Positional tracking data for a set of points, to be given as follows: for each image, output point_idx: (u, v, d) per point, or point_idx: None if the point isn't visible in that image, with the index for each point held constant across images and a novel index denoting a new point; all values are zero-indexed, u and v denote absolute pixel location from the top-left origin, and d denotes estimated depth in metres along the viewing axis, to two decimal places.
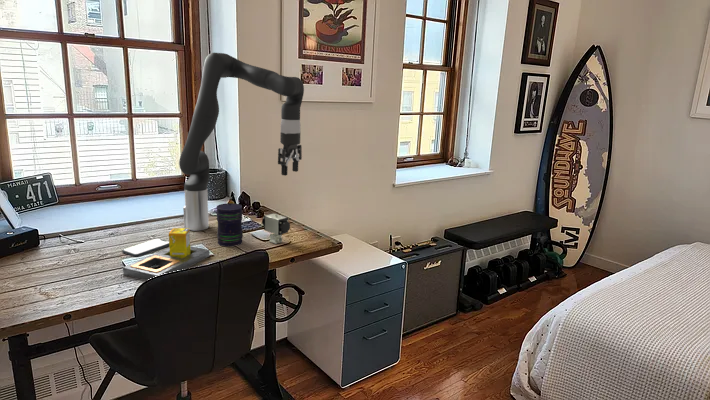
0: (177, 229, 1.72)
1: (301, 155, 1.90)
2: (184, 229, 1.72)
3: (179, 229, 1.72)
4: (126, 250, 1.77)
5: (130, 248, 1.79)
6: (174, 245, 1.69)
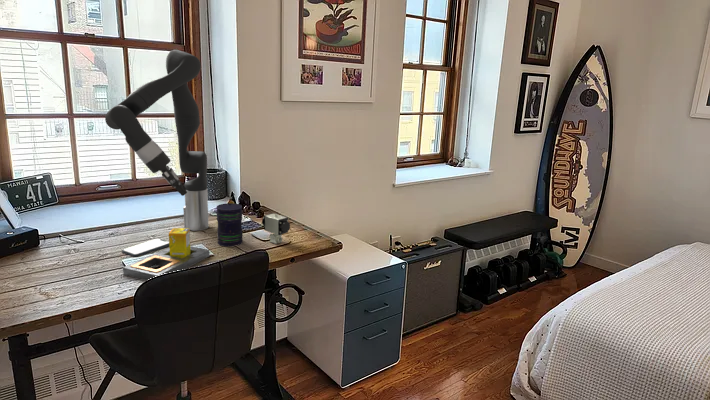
0: (177, 228, 1.72)
1: None
2: (184, 229, 1.72)
3: (179, 229, 1.72)
4: (126, 250, 1.77)
5: (130, 248, 1.79)
6: (174, 245, 1.69)
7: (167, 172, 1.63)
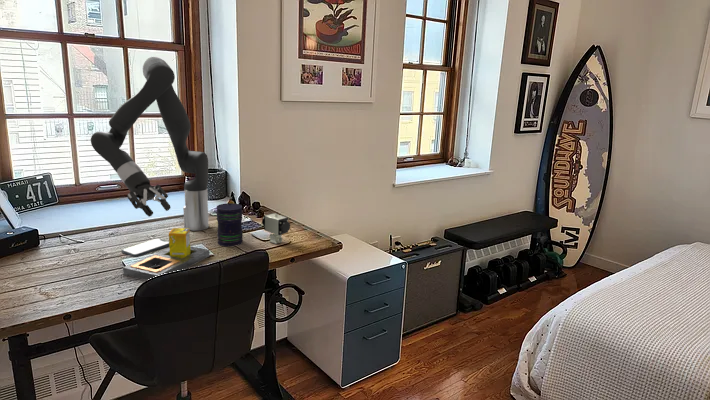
0: (177, 229, 1.72)
1: (133, 205, 1.67)
2: (184, 229, 1.72)
3: (179, 229, 1.72)
4: (125, 250, 1.77)
5: (130, 248, 1.79)
6: (174, 245, 1.69)
7: (129, 194, 1.66)
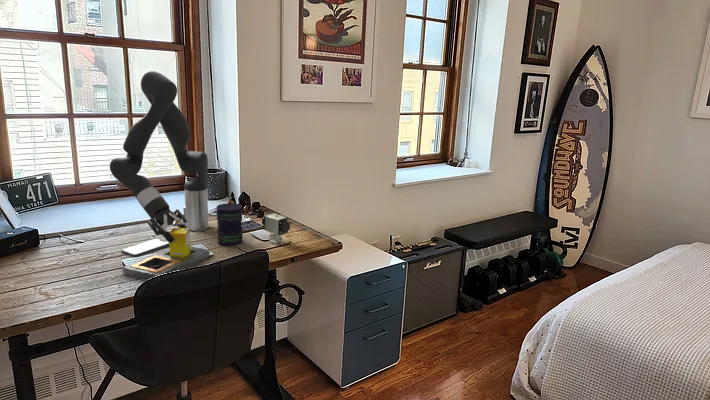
0: (177, 228, 1.72)
1: (154, 232, 1.66)
2: (184, 229, 1.72)
3: (179, 229, 1.72)
4: (125, 250, 1.77)
5: (130, 248, 1.79)
6: (174, 245, 1.69)
7: (150, 220, 1.65)
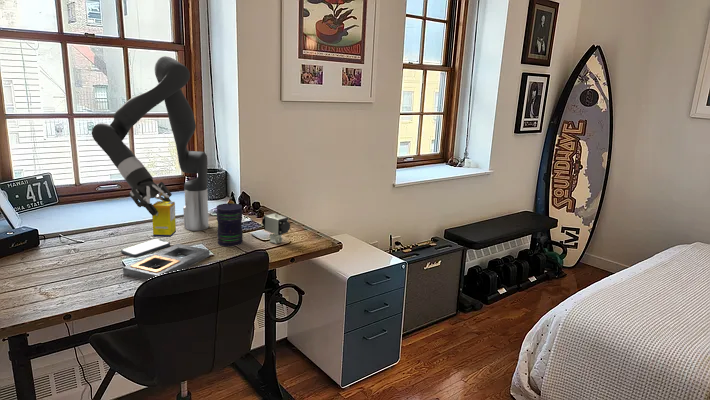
0: (161, 202, 1.63)
1: (136, 203, 1.56)
2: (169, 202, 1.63)
3: (163, 202, 1.62)
4: (125, 250, 1.77)
5: (129, 248, 1.79)
6: (157, 218, 1.59)
7: (132, 191, 1.56)
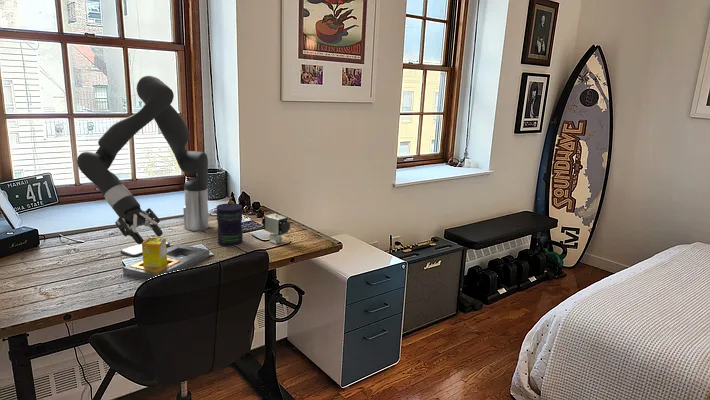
0: (152, 238, 1.61)
1: (122, 232, 1.55)
2: (160, 239, 1.61)
3: (154, 239, 1.61)
4: (124, 250, 1.77)
5: (129, 249, 1.78)
6: (147, 256, 1.58)
7: (118, 220, 1.54)
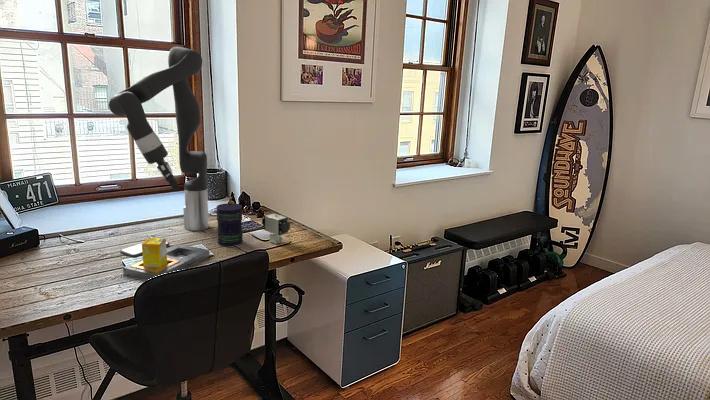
0: (152, 238, 1.61)
1: (165, 177, 1.65)
2: (159, 239, 1.61)
3: (154, 239, 1.61)
4: (124, 250, 1.77)
5: (128, 249, 1.78)
6: (147, 256, 1.58)
7: (164, 166, 1.64)
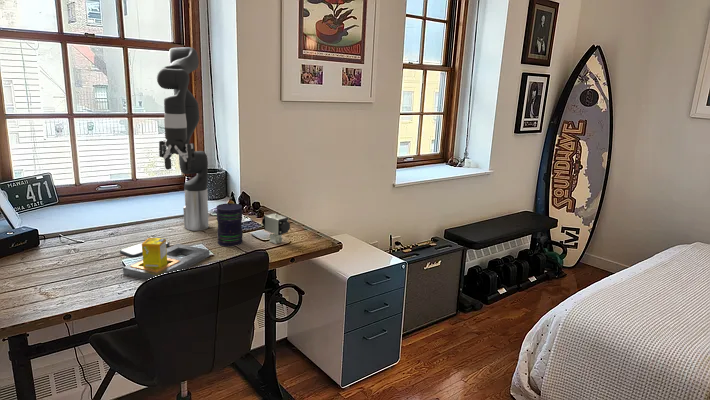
0: (152, 238, 1.61)
1: (190, 156, 1.73)
2: (159, 239, 1.61)
3: (154, 239, 1.61)
4: (123, 250, 1.77)
5: (128, 249, 1.78)
6: (147, 256, 1.58)
7: (192, 145, 1.74)
